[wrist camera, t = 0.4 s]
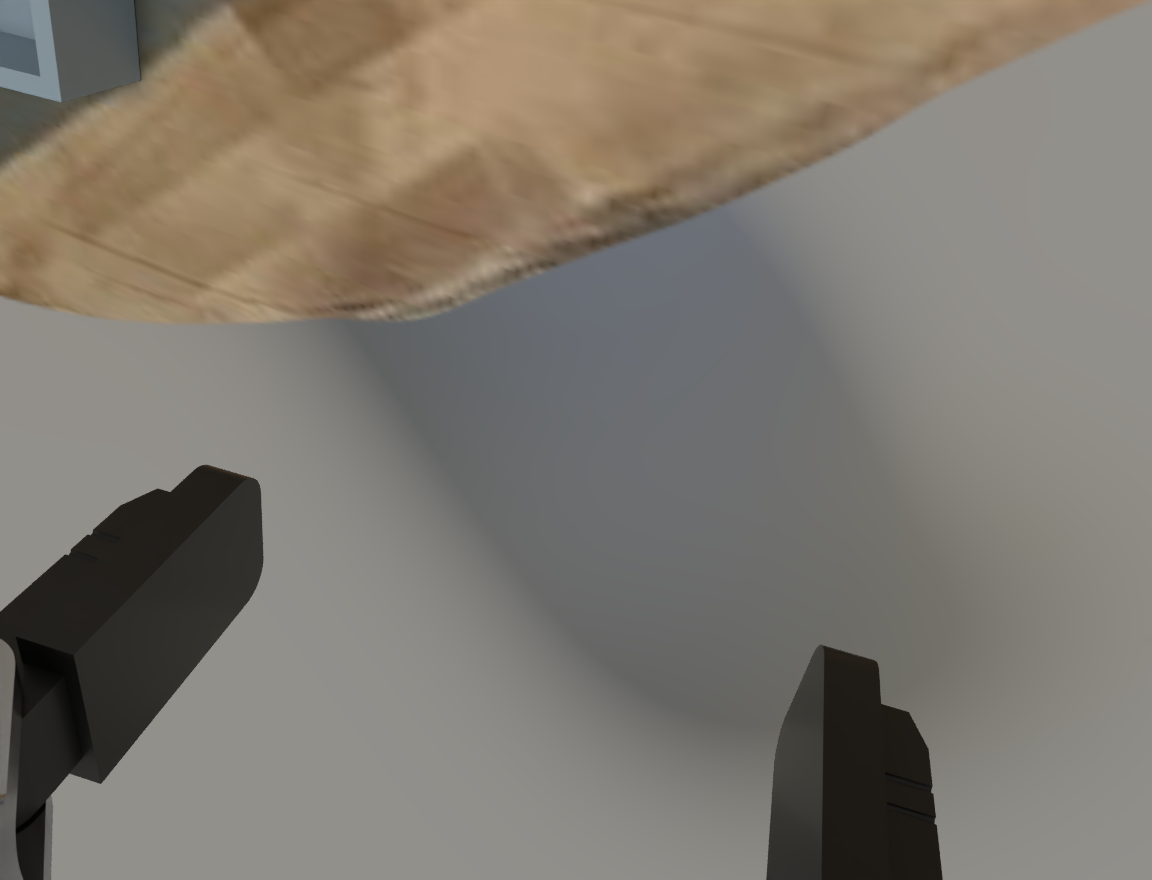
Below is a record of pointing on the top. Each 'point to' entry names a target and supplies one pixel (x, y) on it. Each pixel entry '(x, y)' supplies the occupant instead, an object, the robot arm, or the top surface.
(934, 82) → the top surface
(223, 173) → the top surface
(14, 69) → the bin
